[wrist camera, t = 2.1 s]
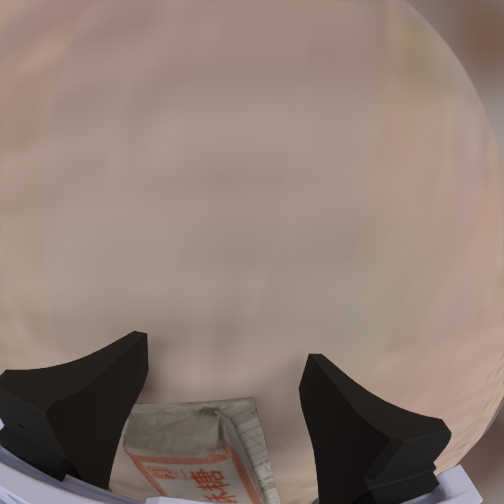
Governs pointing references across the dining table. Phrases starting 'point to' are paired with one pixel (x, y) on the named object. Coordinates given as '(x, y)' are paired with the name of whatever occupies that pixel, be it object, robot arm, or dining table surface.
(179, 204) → the dining table surface
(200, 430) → the packaged product
